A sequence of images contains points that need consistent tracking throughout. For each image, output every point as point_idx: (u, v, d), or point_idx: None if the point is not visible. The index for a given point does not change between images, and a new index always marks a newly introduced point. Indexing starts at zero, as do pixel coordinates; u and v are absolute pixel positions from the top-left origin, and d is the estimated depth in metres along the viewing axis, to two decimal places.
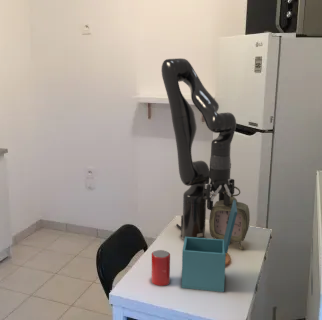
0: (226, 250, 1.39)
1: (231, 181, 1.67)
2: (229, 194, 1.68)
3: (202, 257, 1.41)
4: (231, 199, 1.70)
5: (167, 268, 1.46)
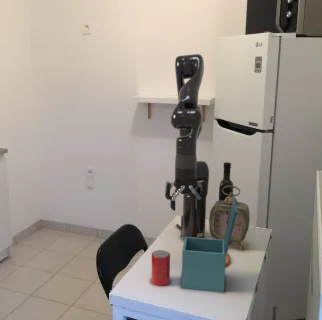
0: (226, 250, 1.39)
1: (201, 183, 1.55)
2: (198, 197, 1.56)
3: (202, 257, 1.41)
4: (231, 199, 1.70)
5: (167, 268, 1.46)
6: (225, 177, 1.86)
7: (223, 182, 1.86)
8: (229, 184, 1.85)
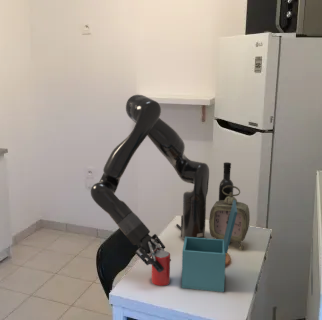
0: (226, 250, 1.39)
1: None
2: None
3: (202, 257, 1.41)
4: (231, 199, 1.70)
5: (167, 268, 1.46)
6: (225, 177, 1.86)
7: (223, 182, 1.86)
8: (229, 184, 1.85)
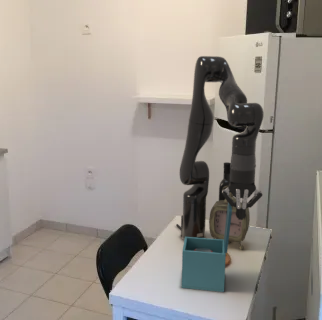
0: (226, 250, 1.39)
1: (258, 193, 1.37)
2: (244, 206, 1.39)
3: (202, 257, 1.41)
4: None
5: None
6: (225, 177, 1.86)
7: (223, 182, 1.86)
8: None
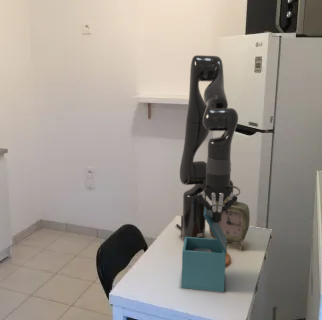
0: (224, 250, 1.39)
1: (233, 197, 1.39)
2: (219, 209, 1.41)
3: (202, 257, 1.41)
4: None
5: None
6: None
7: None
8: None
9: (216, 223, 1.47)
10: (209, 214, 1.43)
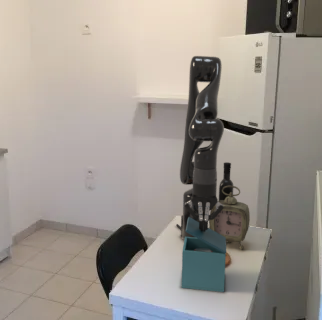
0: (223, 251, 1.39)
1: (219, 206, 1.41)
2: (206, 218, 1.43)
3: (202, 257, 1.41)
4: (231, 199, 1.70)
5: None
6: (225, 177, 1.86)
7: (223, 182, 1.86)
8: (229, 184, 1.85)
9: (207, 230, 1.48)
10: (193, 226, 1.45)
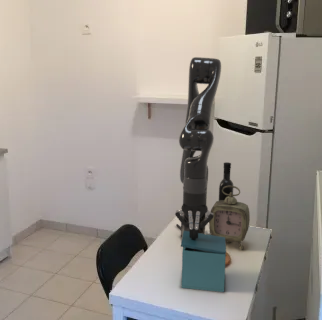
0: (222, 252, 1.39)
1: (209, 215, 1.43)
2: (196, 227, 1.44)
3: (202, 257, 1.41)
4: (231, 199, 1.70)
5: None
6: (225, 177, 1.86)
7: (223, 182, 1.86)
8: (229, 184, 1.85)
9: (204, 237, 1.49)
10: (189, 238, 1.47)
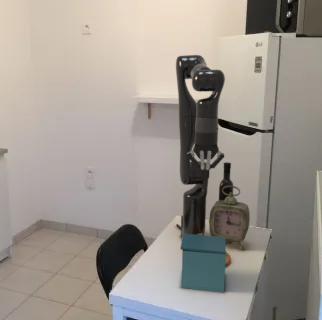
0: (222, 252, 1.39)
1: (220, 155, 1.48)
2: (207, 167, 1.49)
3: (202, 257, 1.41)
4: (231, 199, 1.70)
5: None
6: (225, 177, 1.86)
7: (223, 182, 1.86)
8: (229, 184, 1.85)
9: (203, 238, 1.49)
10: (188, 241, 1.47)
